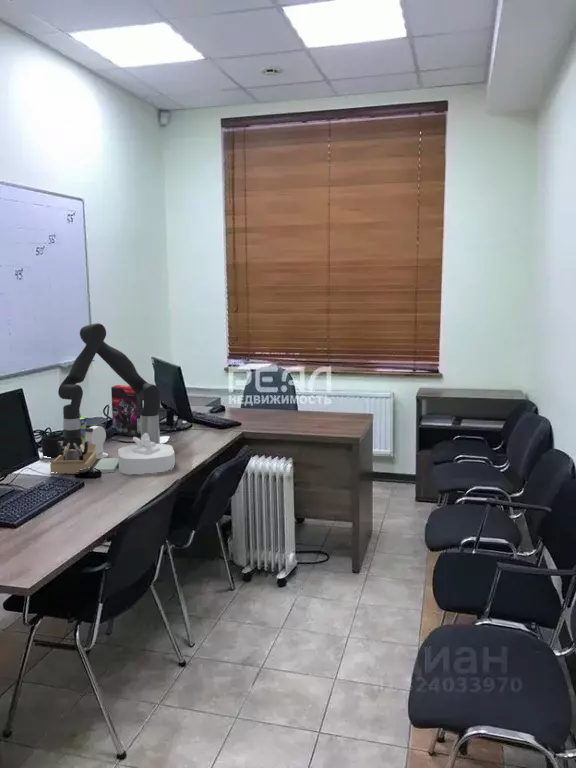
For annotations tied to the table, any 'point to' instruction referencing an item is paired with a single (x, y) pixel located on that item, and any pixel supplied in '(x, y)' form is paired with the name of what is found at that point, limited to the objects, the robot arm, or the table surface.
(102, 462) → the board
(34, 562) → the table surface
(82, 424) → the box
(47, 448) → the pen holder
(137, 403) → the graphics card box
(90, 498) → the table surface
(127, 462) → the tissue box
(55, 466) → the carton
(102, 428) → the white security camera
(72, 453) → the block
